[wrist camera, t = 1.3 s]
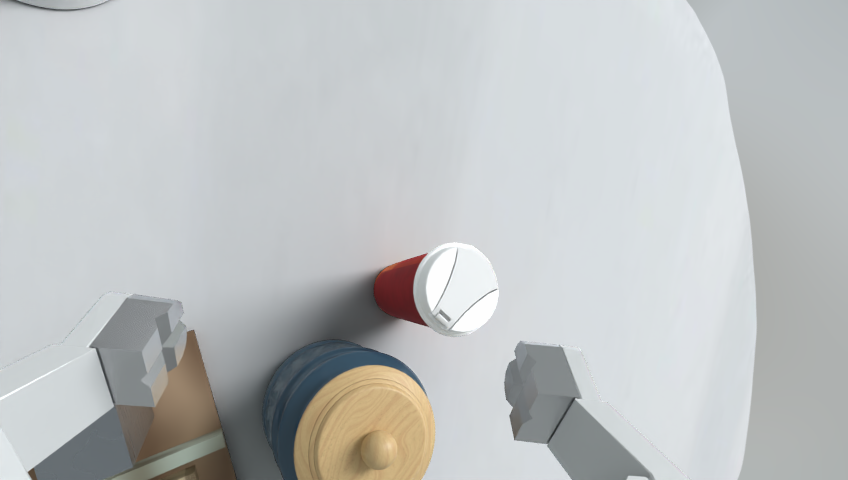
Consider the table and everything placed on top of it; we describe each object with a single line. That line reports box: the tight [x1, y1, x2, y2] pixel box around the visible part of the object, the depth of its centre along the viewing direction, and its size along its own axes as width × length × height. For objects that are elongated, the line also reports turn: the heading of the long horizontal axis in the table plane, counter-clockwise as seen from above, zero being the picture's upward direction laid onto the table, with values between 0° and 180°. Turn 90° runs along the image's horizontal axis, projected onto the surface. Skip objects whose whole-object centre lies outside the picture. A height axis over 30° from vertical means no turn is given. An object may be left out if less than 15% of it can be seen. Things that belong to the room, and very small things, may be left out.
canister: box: [262, 340, 435, 480], centre depth 40 cm, size 13×13×18 cm
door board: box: [28, 330, 237, 480], centre depth 39 cm, size 14×20×3 cm
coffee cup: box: [374, 243, 499, 337], centre depth 46 cm, size 8×8×15 cm
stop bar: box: [34, 404, 154, 480], centre depth 33 cm, size 4×4×13 cm
